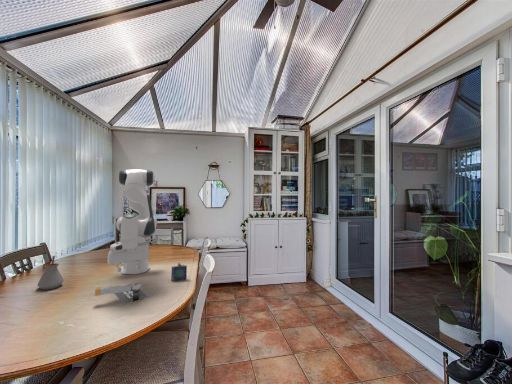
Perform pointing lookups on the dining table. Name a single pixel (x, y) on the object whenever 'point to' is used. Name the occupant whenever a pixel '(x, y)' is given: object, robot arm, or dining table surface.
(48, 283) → the grey vase with sticks
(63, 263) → the dining table surface
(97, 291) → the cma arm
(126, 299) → the chassis plate
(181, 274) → the flask
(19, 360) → the dining table surface
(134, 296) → the dark grey cylinder
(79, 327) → the dining table surface
